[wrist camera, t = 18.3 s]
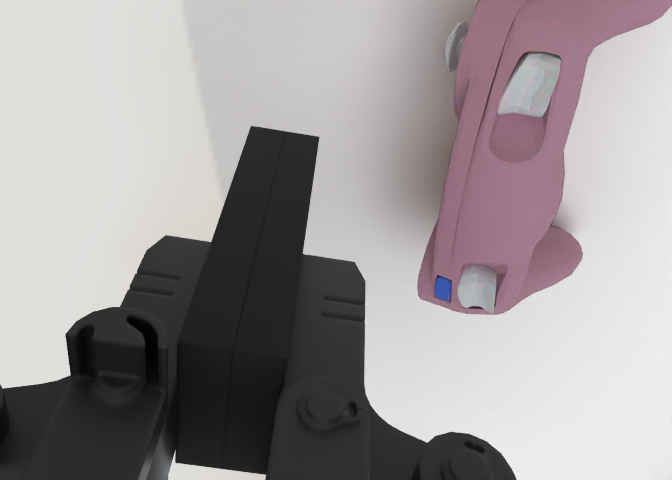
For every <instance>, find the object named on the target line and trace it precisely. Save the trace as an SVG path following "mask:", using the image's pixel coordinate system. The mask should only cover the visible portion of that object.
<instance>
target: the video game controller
mask: <svg viewBox="0 0 672 480" xmlns="http://www.w3.org/2000/svg"><path fill="white" fill-rule="evenodd" d="M671 6H672V0H479V2H478V4H477V7H476V9H475V12H474V15H473V17H472V20H471V23H470V26H469V28H468V31H467V23H466V22H465V21H461V22H459V23H458V24H457V25H456V27H455V28H454V29H453V30H452V32H451V33H450V34H449V36H448V38H447V40H446V44H445V49H444V55H445V60H446V66H447V68H448V70H449V71H454V70H455V69H456V68H457V73H456V83H455V92H454V107H455V114H456V116H457V118H458V120H459V125H458V129H457V133H456V137H455V141H454V144H453V148H452V152H451V156H450V161H449V165H448V170H447V175H446V180H445V185H444V190H443V195H442V199H441V205H440V211H439V217H438V220H437V222H436V225H435V227H434V229H433V232H432V234H431V237H430V239H429V242H428V245H427V248H426V251H425V255H424V258H423V261H422V265H421V269H420V273H419V278H418V296H419V297H420V299H422V300H425V301H428V302H431V303H434V304H437V305H440V306H443V307H445V308H448V309H450V310H452V311H457V312H461V313H466V314H495V315H497V314H501V313H504V312H506V311H508V310H510V309H511V308H512V307H514V306H515V305H516V304H517V303H519V302H520V301H521V300H523V299H524V298H526V297H528V296H530V295H531V294H533V293H535V292H538V291H540V290H543V289H545V288H547V287H550V286H552V285H554V284H556V283H558V282H559V281H561V280H563V279H565V278H567V277H568V276H570V275H571V274H572V273H573V272H574V270H575V269H576V267H577V266H578V264H579V263H580V261H581V260H582V255H583V253H582V249H581V246H580V244H579V242H578V241H577V240H576V239H575V238H574V237H573V236H572V235H571V234H569V233H567V232H566V231H564V230H562V229H558V228H555V227H553V226H550V225H551V224H552V222H553V220H554V219H555V216H556V214H557V211H558V208H559V205H560V203H561V200H562V194H563V185H564V175H565V170H564V147H565V143H566V140H567V137H568V134H569V130H570V127H571V124H572V120H573V117H574V114H575V110H576V107H577V104H578V100H579V95H580V91H581V86H582V82H583V77H584V73H585V69H586V64H587V60H588V57H589V56H590V54H591V52H592V51H593V49H594V48H595V47H596V46H597V45H599V44H601V43H603V42H604V41H606V40H608V39H610V38H612V37H614V36H617V35H619V34H622V33H625V32H628V31H630V30H633V29H636V28H639V27H642V26H644V25H647V24H650V23H652V22H654V21H655V20H657V19H659V18H660V17H662V16H663V14H664V13H665V12H666V11H667V10H668V9H669V8H670V7H671Z"/></svg>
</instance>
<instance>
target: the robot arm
mask: <svg viewBox="0 0 672 480" xmlns="http://www.w3.org/2000/svg"><path fill="white" fill-rule="evenodd" d="M318 142H319V137H317V136H310V135H304V134H298V133H292V132H286V131H279V130H273V129H267V128H261V127H255V126H251V128H250V130H249V133H248V136H247V139H246V142H245V145H244V148H243V151H242V154H241V157H240V160H239V163H238V166H237V169H236V171H235V174H234V177H233V180H232V183H231V186H230V189H229V192H228V195H227V198H226V201H225V204H224V207H223V209H222V212H221V215H220V218H219V221H218V224H217V227H216V230H215V233H214V236H213V239H212V242H206V241H199V240H193V239H186V238H180V237H173V236H167V235H166V236H164V237H163V238H162V239H161V240H159V241H158V242H157V243H156V244H154V245H153V246H152V247H150V248H149V249H148V250H147V251H146V253H145V255H144V257H143V259H142V261H141V264H140V266H139V268H138V270H137V274H135V276H134V278H133V280H132V283H131V285H130V289H129V290H128V291H127V293H126V295H125V297H124V300H123V302H122V304H121V306H120V307H111V308H107V309H103V310H99V311H95V312H92V313H90V314H88V315H87V316H85V317H83V318H82V319H80V320H78V321H76V323H75V324H74V325H73V326H72V327H71V328H70V330H69V331H68V332H67V333H66V341H67V349H68V357H69V365H70V372H71V375H70V376H68V377H65V378H63V379H61V380H58V381H54V382H49V383H44V384H38V385H29V386H21V387H13V388H5V389H2V387H1V385H0V480H168V473H169V470H170V466H171V463H172V459H173V456H174V453H175V449H176V459H175V461H176V463H182V464H189V465H197V466H205V467H212V468H220V469H227V470H235V471H243V472H250V473H258V474H265V475H266V479H265V480H516V477H515V475H514V473H513V471H512V469H511V467H510V466H509V464H508V463H507V461H506V460H505V458H504V457H503V455H502V454H501V453H500V452H499V451H497V450H496V449H495V448H494V447H492V446H491V445H490V444H489V443H488V442H486V441H484V440H482V439H479V438H477V437H475V436H472V435H470V434H465V433H455V432H449V433H446V434H442V435H438V436H435V437H434V438H433V439H432V440H430V441H429V442H428V443H427V442H424V441H422V440H420V439H417V438H415V437H413V436H411V435H408V434H406V433H404V432H401V431H400V430H398V429H396V428H394V427H392V426H391V425H389V424H388V423H387V422H385V421H384V420H383V419H382V418H381V417H379V416H378V414H377V413H376V412H375V411H374V409H373V408H372V407H371V405H370V403H369V401H368V399H367V397H366V394H365V387H364V346H365V323H364V320H365V280H364V278H363V276H362V275H361V273H360V271H359V269H358V267H357V266H356V264H355V262H351V261H344V260H337V259H331V258H324V257H318V256H311V255H304V254H303V247H304V240H305V233H306V226H307V219H308V212H309V205H310V198H311V191H312V184H313V177H314V170H315V163H316V156H317V149H318Z"/></svg>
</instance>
